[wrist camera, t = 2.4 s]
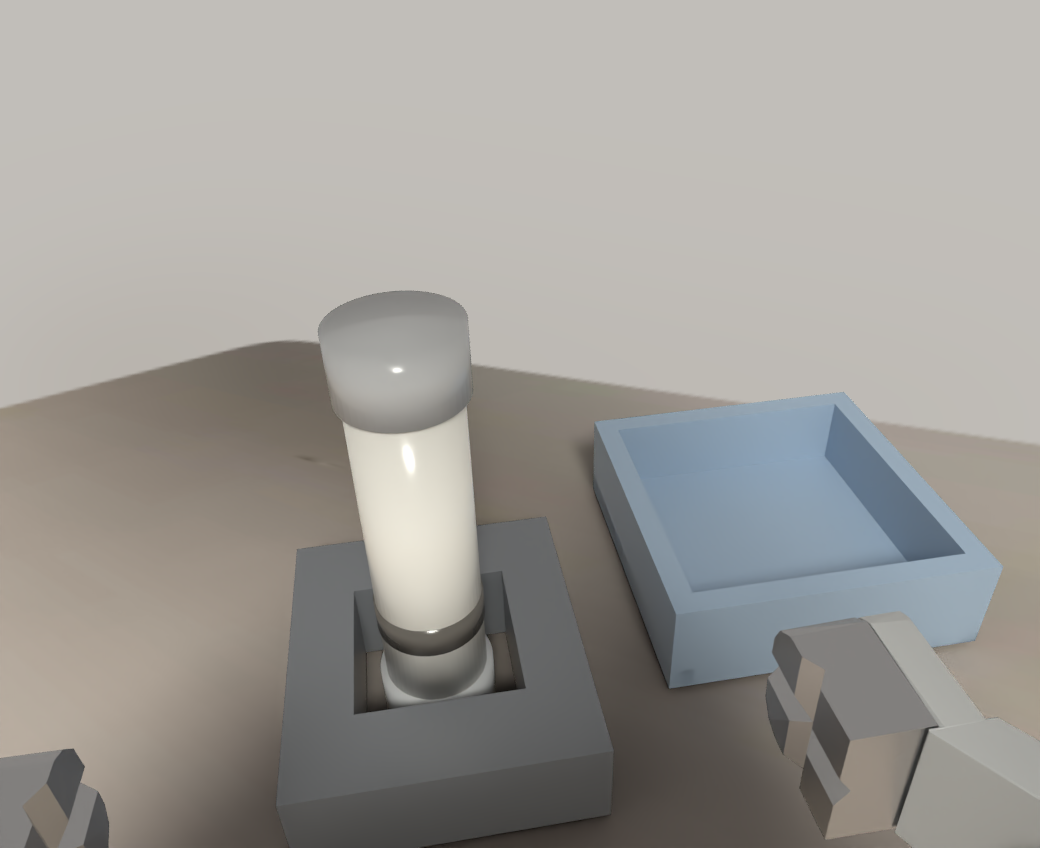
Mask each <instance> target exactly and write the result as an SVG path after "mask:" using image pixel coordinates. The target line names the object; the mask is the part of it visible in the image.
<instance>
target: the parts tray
mask: <svg viewBox="0 0 1040 848" xmlns="http://www.w3.org/2000/svg"><path fill="white" fill-rule="evenodd" d="M593 488H594V491H595V494H596V496H597V499H598V501H599V504H600V507H601V509H602V512H603V515H604V517H605V520H606V523H607V525H608V528H609V531H610V533H611V536H612V539H613V541H614V544H615V547H616V549H617V552H618V554H619V557H620V560H621V562H622V565H623V568H624V570H625V573H626V576H627V578H628V581H629V584H630V586H631V589H632V592H633V594H634V597H635V600H636V602H637V605H638V607H639V610H640V613H641V615H642V618H643V621H644V623H645V626H646V629H647V631H648V634H649V637H650V639H651V642H652V645H653V647H654V650H655V653H656V655H657V658H658V660H659V663H660V666H661V668H662V671H663V674H664V676H665V679H666V682H667V684H668V687H669V689H670V688H677V687H683V686H689V685H696V684H702V683H709V682H715V681H721V680H728V679H734V678H740V677H747V676H753V675H760V674H766V673H772V672H774V671H775V670H776V669H777V667H778V666H779V665H778V663H777V661H776V660H775V658H774V656H773V654H772V649H773V643H774V638H775V637H776V635H777V634H778V633H779V631H781V630H786V629H792V628H798V627H803V626H809V625H814V624H820V623H826V622H831V621H837V620H842V619H848V618H860V617H865V616H871V615H877V614H883V613H889V612H896V611H900V612H902V613H904V614H905V615H907V616H908V617H909V618H910V619H911V621H912V622H913V623H914V625H915V626H916V627H917V629H918V630H919V631H920V633H921V634H922V635H923V637H924V638H925V639H926V640H927V642H928V643H929V644H930V646H931V647H938V646H945V645H951V644H957V643H964V642H970V641H975V639H976V637H977V634H978V631H979V629H980V626H981V624H982V621H983V618H984V616H985V613H986V610H987V608H988V605H989V603H990V600H991V597H992V595H993V592H994V590H995V587H996V584H997V582H998V579H999V576H1000V574H1001V571H1002V569H1003V566H1002V565H1001V564H1000V563H999V561H998V560H997V559H996V558H995V557H994V556H993V555H992V554H991V553H990V552H989V551H988V549H987V548H986V547H985V546H984V545H983V544H982V543H981V542H980V541H979V540H978V538H977V537H976V536H975V535H974V534H973V533H972V532H971V531H970V530H969V529H968V527H967V526H966V525H965V524H964V523H963V522H962V521H961V520H960V519H959V518H958V517H957V515H956V514H955V513H954V512H953V511H952V510H951V509H950V508H949V507H948V506H947V504H946V503H945V502H944V501H943V500H942V499H941V498H940V497H939V496H938V495H937V493H936V492H935V491H934V490H933V489H932V488H931V487H930V486H929V485H928V484H927V483H926V481H925V480H924V479H923V478H922V477H921V476H920V475H919V474H918V473H917V472H916V470H915V469H914V468H913V467H912V466H911V465H910V464H909V463H908V462H907V461H906V460H905V458H904V457H903V456H902V455H901V454H900V453H899V452H898V451H897V450H896V449H895V447H894V446H893V445H892V444H891V443H890V442H889V441H888V440H887V439H886V438H885V436H884V435H883V434H882V433H881V432H880V431H879V430H878V429H877V428H876V427H875V426H874V424H873V423H872V422H871V421H870V420H869V419H868V418H867V417H866V416H865V415H864V413H863V412H862V411H861V410H860V409H859V408H858V407H857V406H856V405H855V404H854V403H853V401H851V399H850V398H849V397H848V396H847V395H846V394H845V393H844V392H840V393H833V394H823V395H815V396H807V397H799V398H790V399H781V400H773V401H765V402H757V403H748V404H739V405H731V406H723V407H714V408H706V409H697V410H689V411H681V412H672V413H664V414H655V415H647V416H639V417H630V418H622V419H613V420H605V421H596V422H595V426H594V482H593Z"/></svg>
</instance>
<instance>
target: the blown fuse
mask: <svg viewBox="0 0 1040 848" xmlns="http://www.w3.org/2000/svg"><path fill="white" fill-rule="evenodd" d="M318 336H319V342H320V347H321V352H322V358H323V363H324V368H325V374H326V379H327V384H328V390H329V395H330V401H331V406H332V409H333V411H334V413H335V414H336V416H337V417H338V418H339V419H341V420H342V421H343V427H344V432H345V438H346V443H347V449H348V454H349V460H350V466H351V471H352V477H353V482H354V488H355V493H356V499H357V504H358V510H359V516H360V521H361V527H362V532H363V538H364V543H365V549H366V554H367V560H368V566H369V571H370V577H371V582H372V588H373V603H374V609H375V614H376V620H377V625H378V629H379V632H380V634H381V638H382V643H383V649H384V651H383V654H382V658H381V674H382V680H383V685H384V690H385V696H386V701H387V707H388V709H395V708H401V707H408V706H414V705H421V704H427V703H434V702H440V701H447V700H453V699H460V698H466V697H473V696H479V695H486V694H492V693H496V686H495V673H494V659H493V649H492V645H491V643H490V641H489V639H488V637H487V636H486V634H485V625H484V617H485V605H484V593H483V583H482V579H481V576H480V564H479V552H478V539H477V527H476V515H475V503H474V490H473V478H472V466H471V453H470V441H469V429H468V417H467V404H468V403H469V401H470V400H471V397H472V394H473V381H472V367H471V355H470V342H469V328H468V317H467V313H466V311H465V309H464V308H463V307H462V306H461V305H460V304H459V303H457V302H456V301H454V300H452V299H450V298H448V297H445V296H442V295H439V294H435V293H429V292H420V291H392V292H383V293H377V294H372V295H368V296H364V297H361V298H358V299H354V300H352V301H349V302H347V303H345V304H343V305H341V306H339V307H337V308H335V309H334V310H333V311H331V312H330V313H328V314H327V315H326V316H325V317H324V319H323V320H322V321H321V323H320V325H319V328H318Z"/></svg>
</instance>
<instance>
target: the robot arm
mask: <svg viewBox="0 0 1040 848" xmlns="http://www.w3.org/2000/svg"><path fill="white" fill-rule="evenodd" d="M772 654H773V656H774V658H775V660H776V661H777V663H778V665H779V666H778V667H777V669H776V670H775V671H774V672H773V673H772V674H771V675H770V676H769V677H768V680H767V689H766V703H767V710H768V717H769V721H770V724H771V727H772V730H773V733H774V736H775V738H776V740H777V743H778V745H779V747H780V749H781V751H782V753H783V755H784V756H785V757H787V758H788V759H790V760H791V761H793V762H794V763H796V764H797V765H798V766H800V767H801V768H803V772H802V777H801V782H800V787H799V789H800V791H801V793H802V795H803V797H804V799H805V801H806V803H807V805H808V807H809V809H810V811H811V813H812V815H813V817H814V819H815V821H816V823H817V825H818V827H819V829H820V831H821V833H822V835H823V837H824V839H825V840H828V839H834V838H840V837H846V836H852V835H859V834H865V833H871V832H877V831H883V830H889V829H896V830H895V833H896V834H897V835H898V836H899V837H901V838H902V839H903V840H904V841H905V842H907V843H908V844H909V845H910V846H911V847H913V848H1040V741H1039V740H1037V739H1035V738H1034V737H1032V736H1030V735H1028V734H1026V733H1025V732H1023V731H1021V730H1019V729H1018V728H1016V727H1014V726H1012V725H1011V724H1009V723H1007V722H1005V721H1004V720H1002V719H1000V718H998V717H996V718H989V719H985V717H984V716H983V715H982V713H981V712H980V711H979V709H978V708H977V707H976V705H975V704H974V703H973V701H972V700H971V699H970V697H969V696H968V695H967V693H966V692H965V691H964V690H963V688H962V687H961V686H960V684H959V683H958V682H957V680H956V679H955V678H954V676H953V675H952V674H951V672H950V671H949V670H948V668H947V667H946V666H945V664H944V663H943V662H942V660H941V659H940V658H939V656H938V655H937V654H936V652H935V651H934V650H933V648H932V647H931V646H930V644H929V643H928V642H927V640H926V639H925V638H924V637H923V635H922V634H921V633H920V631H919V630H918V629H917V627H916V626H915V625H914V623H913V622H912V621H911V619H910V618H909V617H908V616H907V615H905V614H904V613H902V612H900V611H896V612H889V613H883V614H877V615H871V616H865V617H860V618H848V619H842V620H837V621H831V622H826V623H820V624H814V625H809V626H803V627H798V628H792V629H786V630H781V631H779V633H778V634H777V635H776V637H775V638H774V643H773V649H772ZM84 767H85V766H84V765H83V763H82V762H81V760H80V758H79V757H78V755H77V754H76V752H75V750H74V749H64V750H56V751H49V752H42V753H34V754H27V755H20V756H13V757H5V758H0V848H108V839H109V821H108V817H107V812H106V808H105V804H104V802H103V800H102V798H101V796H100V794H99V792H98V791H97V790H95V789H92V788H90V787H88V786H86V785H84V784H82V783H80V781H81V777H82V774H83V771H84Z"/></svg>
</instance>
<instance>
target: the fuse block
mask: <svg viewBox="0 0 1040 848" xmlns="http://www.w3.org/2000/svg"><path fill="white" fill-rule="evenodd" d="M476 527H477V539H478V552H479V564H480V576H481V579H482V583H483V593H484V605H485V617H484V625H485V634H486V635H488V634H494V633H501V632H506V637H507V642H508V647H509V652H510V657H511V662H512V667H513V673H514V678H515V683H516V688H517V690H512V691H505V692H499V693H492V694H486V695H479V696H473V697H466V698H460V699H453V700H447V701H440V702H434V703H427V704H421V705H414V706H408V707H401V708H395V709H388V710H382V711H375V712H369V713H367V699H366V652H371V651H378V650H384V649H383V643H382V638H381V634H380V632H379V629H378V625H377V620H376V614H375V609H374V603H373V588H372V582H371V577H370V571H369V566H368V560H367V554H366V549H365V543H364V541H356V542H348V543H341V544H333V545H325V546H318V547H310V548H303V549H297V556H296V568H295V580H294V592H293V604H292V616H291V628H290V640H289V653H288V665H287V677H286V689H285V701H284V713H283V725H282V737H281V749H280V761H279V773H278V785H277V797H276V809H277V812H278V815H279V818H280V821H281V824H282V827H283V830H284V833H285V836H286V839H287V842H288V845H289V848H420V847H426V846H431V845H437V844H443V843H449V842H455V841H460V840H466V839H472V838H478V837H484V836H489V835H495V834H501V833H507V832H512V831H518V830H524V829H530V828H536V827H541V826H547V825H553V824H559V823H565V822H570V821H576V820H582V819H588V818H594V817H599V816H605V815H611V803H612V781H613V758H614V750H613V746H612V743H611V740H610V736H609V733H608V729H607V726H606V722H605V719H604V715H603V712H602V708H601V705H600V701H599V698H598V695H597V691H596V688H595V684H594V681H593V677H592V674H591V670H590V667H589V663H588V660H587V657H586V653H585V650H584V646H583V643H582V639H581V636H580V632H579V629H578V625H577V622H576V619H575V615H574V612H573V608H572V605H571V601H570V598H569V594H568V591H567V587H566V584H565V581H564V577H563V574H562V570H561V567H560V563H559V560H558V556H557V553H556V549H555V546H554V543H553V539H552V536H551V532H550V529H549V525H548V522H547V518H546V517H539V518H532V519H524V520H516V521H509V522H501V523H493V524H486V525H478V526H476Z"/></svg>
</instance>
